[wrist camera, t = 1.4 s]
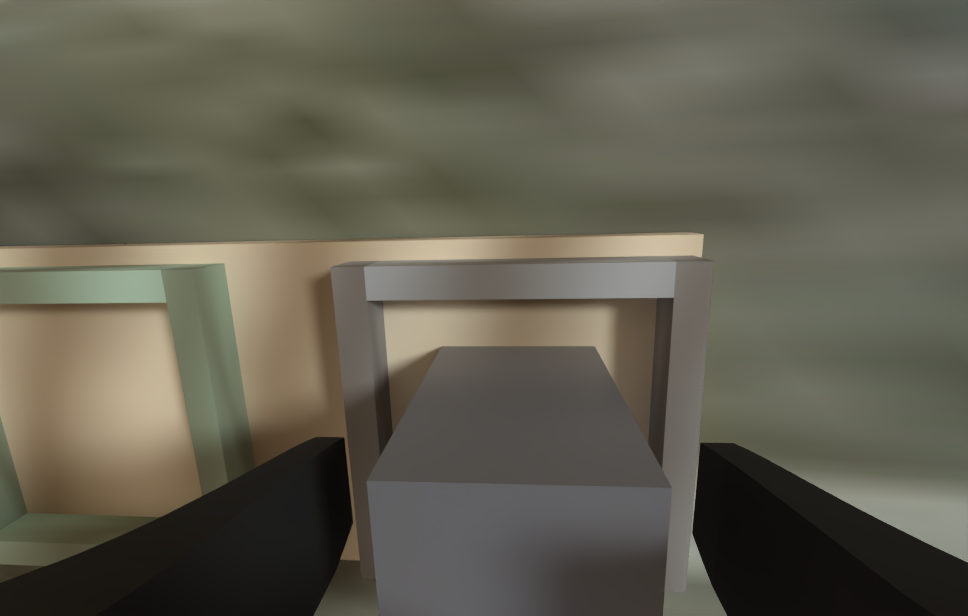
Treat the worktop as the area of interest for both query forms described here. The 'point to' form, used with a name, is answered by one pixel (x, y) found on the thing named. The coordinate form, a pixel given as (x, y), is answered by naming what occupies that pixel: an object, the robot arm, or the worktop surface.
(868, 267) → the worktop surface
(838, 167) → the worktop surface
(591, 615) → the plug
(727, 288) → the worktop surface
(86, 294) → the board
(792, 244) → the worktop surface
